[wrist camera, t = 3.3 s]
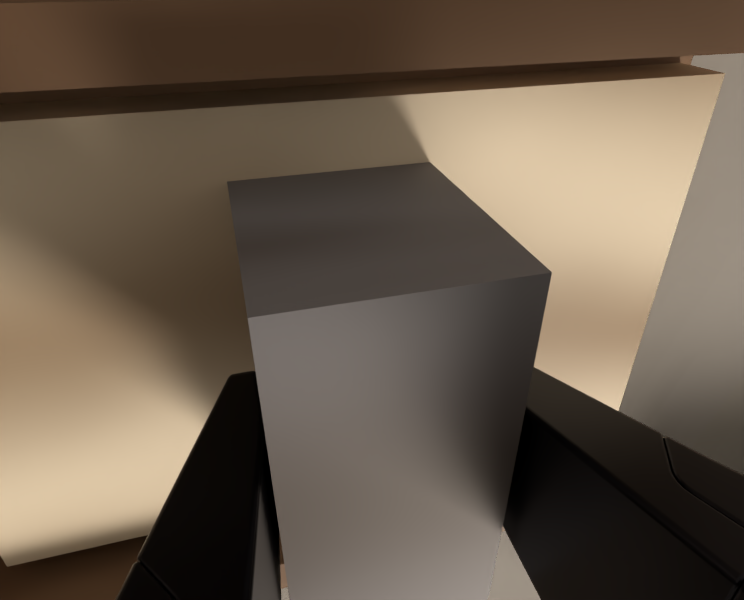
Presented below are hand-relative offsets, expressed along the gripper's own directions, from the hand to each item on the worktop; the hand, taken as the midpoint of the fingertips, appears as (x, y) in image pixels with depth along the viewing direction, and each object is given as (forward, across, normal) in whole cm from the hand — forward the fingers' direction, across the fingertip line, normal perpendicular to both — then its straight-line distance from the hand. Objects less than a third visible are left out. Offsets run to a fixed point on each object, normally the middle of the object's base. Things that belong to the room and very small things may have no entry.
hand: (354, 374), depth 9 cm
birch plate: (+2, 0, 0) cm, 2 cm away
